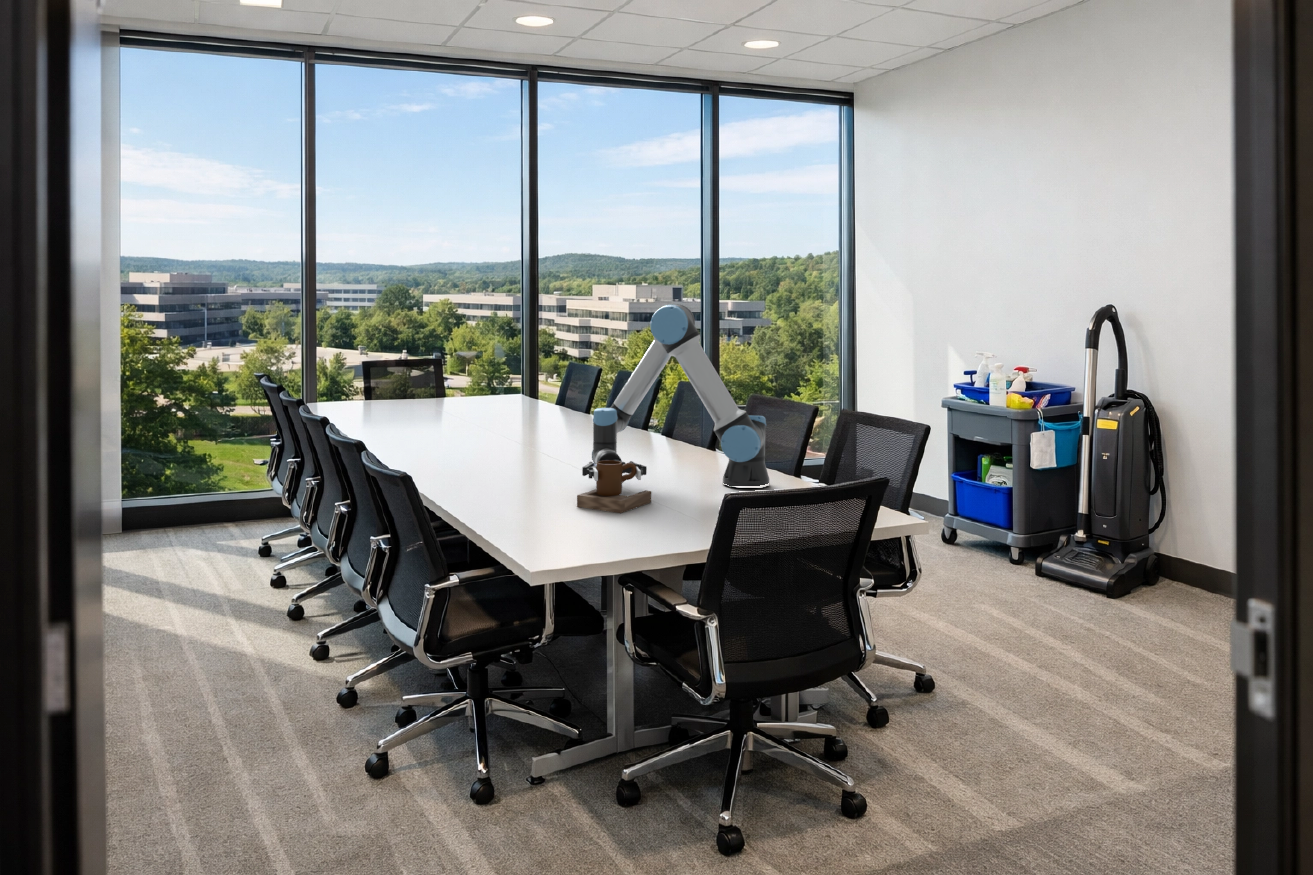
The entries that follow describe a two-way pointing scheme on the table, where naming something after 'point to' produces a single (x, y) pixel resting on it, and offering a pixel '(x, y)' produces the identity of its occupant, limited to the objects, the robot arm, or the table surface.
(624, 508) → the u rest
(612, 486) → the mug
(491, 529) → the table surface
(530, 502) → the table surface
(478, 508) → the table surface
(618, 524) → the table surface
